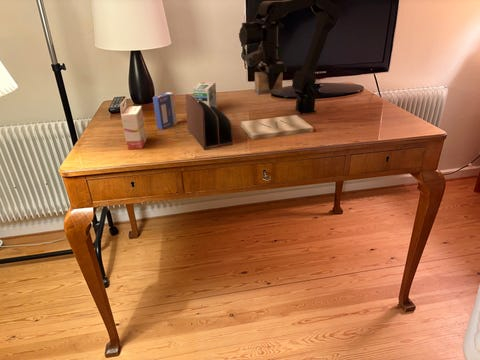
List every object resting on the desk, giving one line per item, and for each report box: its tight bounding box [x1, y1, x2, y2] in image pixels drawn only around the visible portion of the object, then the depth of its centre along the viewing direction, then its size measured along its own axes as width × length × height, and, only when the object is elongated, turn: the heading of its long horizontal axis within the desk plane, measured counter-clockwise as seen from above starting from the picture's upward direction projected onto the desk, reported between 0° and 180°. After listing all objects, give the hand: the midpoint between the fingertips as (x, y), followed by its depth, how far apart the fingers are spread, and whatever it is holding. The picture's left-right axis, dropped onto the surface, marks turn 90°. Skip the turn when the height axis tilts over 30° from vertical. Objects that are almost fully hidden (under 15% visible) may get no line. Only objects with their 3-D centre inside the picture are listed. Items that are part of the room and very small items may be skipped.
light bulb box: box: [192, 81, 218, 108], centre depth 139 cm, size 11×7×11 cm, turn 168°
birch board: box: [240, 114, 314, 140], centre depth 122 cm, size 22×14×2 cm, turn 106°
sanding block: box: [254, 71, 284, 96], centre depth 125 cm, size 9×4×7 cm, turn 104°
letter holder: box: [185, 94, 234, 151], centre depth 114 cm, size 10×20×14 cm, turn 23°
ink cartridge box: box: [119, 97, 147, 150], centre depth 110 cm, size 9×5×15 cm, turn 5°
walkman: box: [152, 91, 178, 131], centre depth 125 cm, size 8×3×12 cm, turn 144°
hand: (268, 87), depth 126 cm, fingers closed on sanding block, 4 cm apart
